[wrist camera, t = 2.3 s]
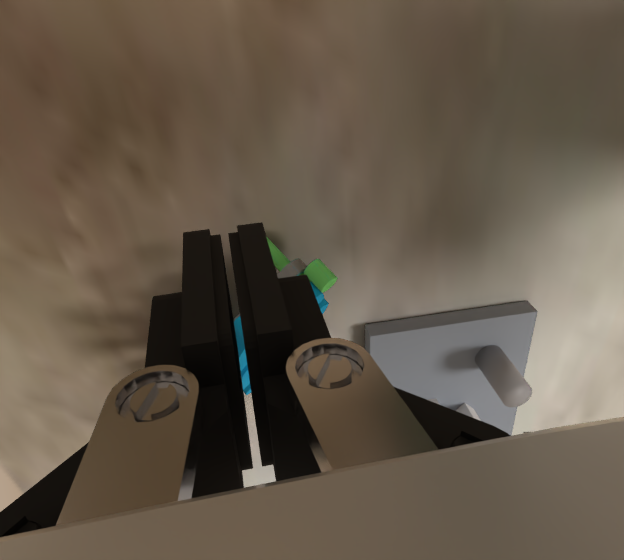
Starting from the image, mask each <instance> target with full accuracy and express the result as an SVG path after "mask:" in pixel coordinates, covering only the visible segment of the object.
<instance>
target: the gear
mask: <svg viewBox="0 0 624 560" xmlns="http://www.w3.org/2000/svg"><path fill="white" fill-rule="evenodd" d="M266 238H267V237H266ZM267 241H268V245H269V248H270V252H271V255H272V259H273V263H274V266H275V267H276V268H277V269H278V270H279V271H280V272H279V273H278V274H277V277H278V278H284V277H291V276H298V275H305V274H306V275H307V276H308V278H309V281H310V283H311V286H312V289H313V291H314V294H315V297H316V299H317V302H318V305H319V307H320V310H321V312H322V314H323V313H324V311H325V310H326V308H327V306H328V304H329V303H328V302H327V301H326V300H325V299H324V295H323V292H325V291H327V290H328V289H329V288H331V287H332V286H333V285H334V283H335V282H336V280H337V277H336V276H335V275H334V274H333V273H332V272H331V271H330V270H329V269H328V268H327V267H326V266H325V265H324V264H323V263H322V261H321V260H320V259H316V260H314V261H313V262H311V263H310V264H309V265H308V266H306V265H305V264H304V263H303V262H302V261H301V260H300V259H295V260H293V261H291V262H290V261H289V260H288V259H287V258H286V257H285V256H284V255H283V253H282V252H281V251H280V250H279V249H278V248H277V247H276V246H275V245H274V244H273V243H272V242H271V241H270V240H269V239H268V238H267ZM234 326H235V333H236V339H237V346H238V354H239V362H240V370H241V377H242V385H243V391H244V393H245V394H246V395H248V394H249V393H251V386H250V380H249V373H248V366H247V359H246V352H245V345H244V339H243V332H242V325H241V318H240V313H239V314H238V315H237V316H236V317H235V318H234Z"/></svg>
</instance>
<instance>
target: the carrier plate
mask: <svg viewBox="0 0 624 560" xmlns="http://www.w3.org/2000/svg"><path fill="white" fill-rule="evenodd" d="M536 316H537V310H536V309H535V308H534V307H533V306H532V305H531V304H530V303H529V302H528V301H522V302H516V303H509V304H502V305H495V306H488V307H481V308H475V309H468V310H461V311H454V312H447V313H441V314H434V315H427V316H420V317H413V318H407V319H400V320H393V321H386V322H379V323H372V324H366V325H365V350H366V351H367V352H368V353H369V354H370V355H371V357H372V358H373V359H374V361H375V362H376V363H377V365H378V366H379V368H380V369H381V370H382V372H383V373H384V375H385V376H386V377H387V379H388V380H389V381H390V383H391V384H392V386H393V387H396V388H398V389H401V390H404V391H406V392H409V393H411V394H414V395H416V396H419V397H421V398H424V399H427V400H429V401H432V402H434V403H437V404H439V405H442V406H444V407H447V408H449V409H452V410H455V411H457V412H460V413H462V414H465V415H467V416H470V417H472V418H475V419H478V420H480V421H483V422H485V423H488V424H490V425H493V426H495V427H497V428H499V429H501V430H503V431H505V432H506V433H508V434H509V435H510V436H511V434H512V430H513V425H514V420H515V415H516V411H517V407H518V406H520V405H522V404H524V403H525V402H527V401H528V400H529V398H530V397H531V395H532V388H531V387H530V385H529V384H528V383H527V382H526V380H525V379H524V373H525V368H526V363H527V359H528V354H529V349H530V344H531V340H532V335H533V330H534V325H535V321H536Z"/></svg>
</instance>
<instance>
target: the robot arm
mask: <svg viewBox="0 0 624 560" xmlns="http://www.w3.org/2000/svg"><path fill="white" fill-rule="evenodd" d="M237 228H238V232H236V233H228V235H229V242H230V249H231V256H232V263H233V270H234V276H235V283H236V290H237V297H238V304H239V311H240V318H241V325H242V332H243V339H244V345H245V352H246V359H247V366H248V373H249V380H250V386H251V393H252V400H253V407H254V414H255V420H256V427H257V434H258V441H259V448H260V455H261V461H262V466H267V465H272V464H273V465H274V471H275V477H276V482H271V483H266V484H261V485H256V486H251V487H246V488H244V486H243V476H242V470H247V469H252V468H253V465H252V457H251V449H250V441H249V433H248V425H247V417H246V409H245V401H244V393H243V385H242V377H241V370H240V362H239V354H238V346H237V339H236V333H235V326H234V320H233V313H232V307H231V300H230V294H229V288H228V281H227V275H226V268H225V262H224V255H223V249H222V243H221V236H220V235H213V236H211V235H210V230H209V229H207V230H199V231H192V232H184V233H183V273H182V292H180V293H173V294H167V295H160V296H154V297H153V300H152V307H151V317H150V326H149V335H148V344H147V354H146V363H145V368H144V369H141V370H138V371H136V372H133V373H132V374H130V375H128V376H127V377H125V378H123V379H122V380H121V381H120V382H119V383H118V384H116V385H115V386H114V387H113V388H112V390H111V392H110V393H109V395H108V396H107V398H106V400H105V403H104V405H103V408H102V410H101V413H100V416H99V418H98V421H97V423H96V426H95V428H94V431H93V433H92V436H91V438H90V441H89V442H88V443H87V444H86V445H85V446H83V447H82V448H81V449H80V450H78V451H77V452H76V453H75V454H73V455H72V456H71V457H70V458H68V459H67V460H66V461H64V462H63V463H62V464H61V465H59V466H58V467H57V468H56V469H54V470H53V471H52V472H51V473H49V474H48V475H47V476H46V477H44V478H43V479H42V480H40V481H39V482H38V483H37V484H35V485H34V486H33V487H32V488H30V489H29V490H28V491H27V492H25V493H24V494H23V495H22V496H20V497H19V498H18V499H16V500H15V501H14V502H13V503H12V504H10V505H9V506H8V507H6V508H5V509H4V510H3V511H1V512H0V560H624V417H620V418H614V419H607V420H601V421H594V422H588V423H581V424H575V425H568V426H562V427H555V428H550V429H545V430H540V431H535V432H523V434H519V435H514V436H510V435H509V434H508V433H506V432H505V431H503V430H501V429H499V428H497V427H495V426H493V425H490V424H488V423H485V422H483V421H480V420H478V419H475V418H472V417H470V416H467V415H465V414H462V413H460V412H457V411H455V410H452V409H449V408H447V407H444V406H442V405H439V404H437V403H434V402H432V401H429V400H427V399H424V398H421V397H419V396H416V395H414V394H411V393H409V392H406V391H404V390H401V389H398V388H396V387H393V386H392V384H391V383H390V381H389V380H388V379H387V377H386V376H385V375H384V373H383V372H382V370H381V369H380V368H379V366H378V365H377V363H376V362H375V361H374V359H373V358H372V357H371V355H370V354H369V353H368V352H367V351H366V350H365V349H364V348H363V347H362V346H360V345H358V344H356V343H354V342H352V341H348V340H344V339H340V338H331V336H330V334H329V331H328V328H327V326H326V323H325V320H324V318H323V315H322V312H321V310H320V307H319V305H318V302H317V299H316V297H315V294H314V291H313V289H312V286H311V283H310V281H309V278H308V276H307V275H306V274H305V275H298V276H291V277H284V278H278V277H277V273H276V270H275V266H274V263H273V259H272V255H271V252H270V248H269V245H268V241H267V238H266V234H265V231H264V227H263V224H262V223H254V224H246V225H238V226H237Z"/></svg>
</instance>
